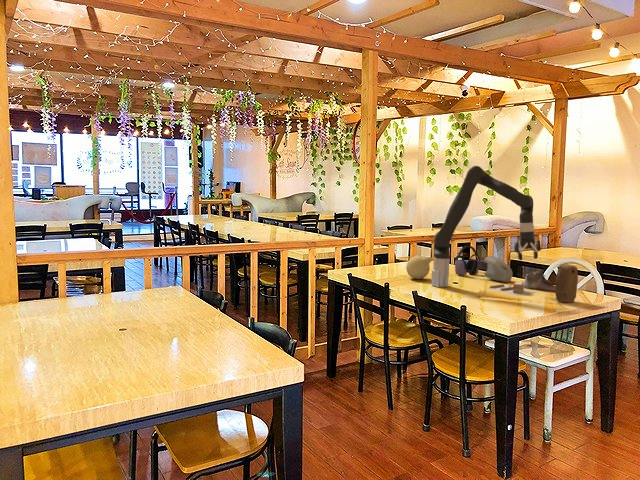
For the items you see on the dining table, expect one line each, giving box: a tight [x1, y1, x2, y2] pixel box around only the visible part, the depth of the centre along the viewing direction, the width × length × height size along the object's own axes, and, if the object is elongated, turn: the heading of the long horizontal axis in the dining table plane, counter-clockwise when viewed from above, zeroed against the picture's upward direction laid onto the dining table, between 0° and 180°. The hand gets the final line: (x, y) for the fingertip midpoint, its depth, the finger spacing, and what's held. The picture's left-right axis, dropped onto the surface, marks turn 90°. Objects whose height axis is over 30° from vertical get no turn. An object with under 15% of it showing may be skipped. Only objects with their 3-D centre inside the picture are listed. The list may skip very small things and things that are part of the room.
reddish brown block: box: [512, 281, 525, 295], centre depth 293 cm, size 9×5×5 cm, turn 156°
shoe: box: [523, 270, 556, 293], centre depth 299 cm, size 25×11×12 cm, turn 44°
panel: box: [486, 283, 537, 296], centre depth 298 cm, size 16×22×4 cm
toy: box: [405, 253, 433, 280], centre depth 336 cm, size 17×15×15 cm
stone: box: [555, 263, 579, 303], centre depth 276 cm, size 12×7×20 cm, turn 122°
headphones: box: [454, 245, 481, 277], centre depth 353 cm, size 9×17×20 cm, turn 120°
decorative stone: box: [483, 255, 513, 283], centre depth 334 cm, size 12×17×15 cm
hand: (528, 259), depth 294 cm, fingers open, 8 cm apart
